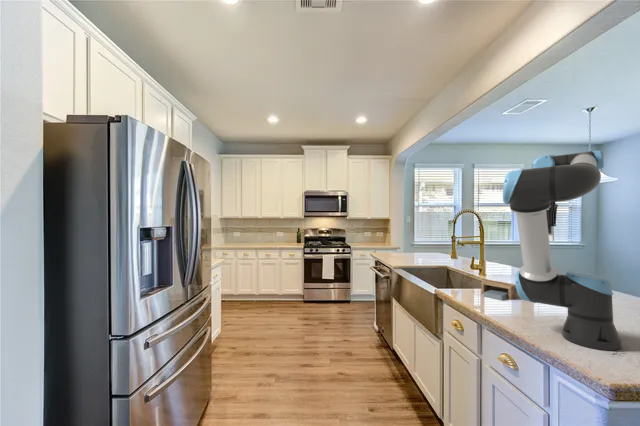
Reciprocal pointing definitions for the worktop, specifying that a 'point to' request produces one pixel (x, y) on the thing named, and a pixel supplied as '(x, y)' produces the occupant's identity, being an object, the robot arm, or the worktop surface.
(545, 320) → the worktop surface
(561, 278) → the robot arm
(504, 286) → the tan wooden channel
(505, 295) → the tile
